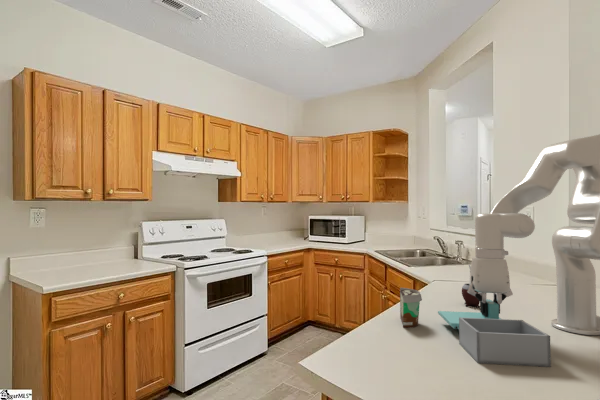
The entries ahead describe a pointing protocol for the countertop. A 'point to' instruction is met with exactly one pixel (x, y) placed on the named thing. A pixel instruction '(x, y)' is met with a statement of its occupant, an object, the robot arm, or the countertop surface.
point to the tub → (504, 342)
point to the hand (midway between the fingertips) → (490, 315)
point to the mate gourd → (469, 296)
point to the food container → (409, 307)
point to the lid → (470, 314)
